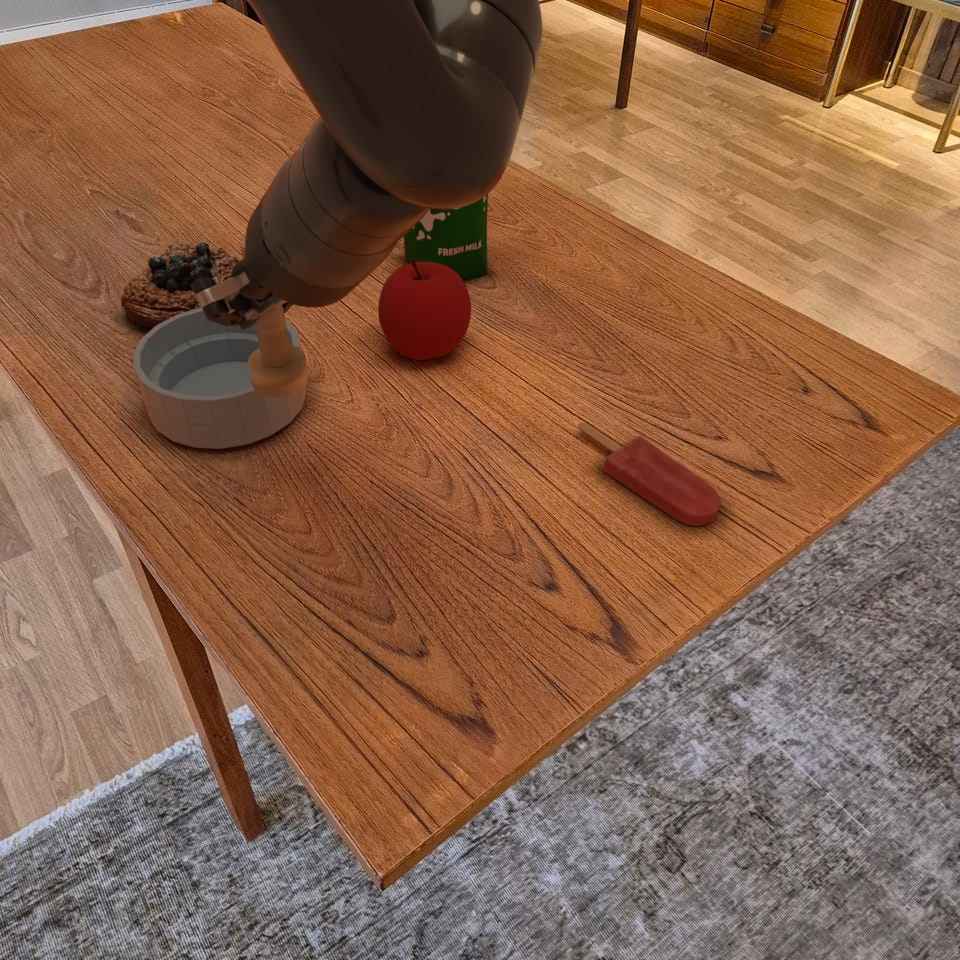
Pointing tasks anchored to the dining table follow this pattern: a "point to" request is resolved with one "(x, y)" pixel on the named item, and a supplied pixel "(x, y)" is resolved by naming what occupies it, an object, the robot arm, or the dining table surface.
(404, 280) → the apple
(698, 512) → the popsicle
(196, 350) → the bowl
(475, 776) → the dining table surface
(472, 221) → the milk carton
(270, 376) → the peg on round base
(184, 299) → the pastry
